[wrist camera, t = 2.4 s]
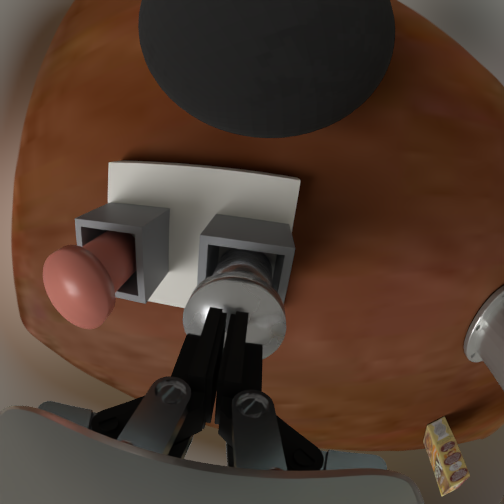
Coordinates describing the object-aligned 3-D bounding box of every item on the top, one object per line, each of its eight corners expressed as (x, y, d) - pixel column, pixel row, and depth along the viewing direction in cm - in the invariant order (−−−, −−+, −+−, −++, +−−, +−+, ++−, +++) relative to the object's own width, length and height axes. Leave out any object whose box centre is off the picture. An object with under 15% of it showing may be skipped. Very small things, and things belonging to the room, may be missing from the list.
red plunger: (149, 223, 17) (100, 259, 11) (150, 287, 19) (113, 337, 13) (91, 216, 17) (36, 245, 11) (97, 275, 19) (52, 317, 13)
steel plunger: (287, 242, 17) (295, 290, 11) (274, 307, 19) (275, 369, 13) (210, 231, 17) (183, 273, 11) (206, 297, 19) (183, 355, 13)
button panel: (297, 177, 20) (311, 191, 14) (273, 309, 25) (274, 361, 18) (120, 160, 21) (70, 169, 14) (123, 283, 25) (87, 322, 18)
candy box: (426, 424, 33) (448, 488, 19) (445, 414, 33) (471, 476, 18) (422, 441, 36) (440, 497, 22) (440, 432, 35) (459, 487, 21)
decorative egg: (356, 29, 15) (443, -67, 1) (328, 159, 20) (440, 190, 6) (210, 1, 15) (151, -112, 1) (175, 127, 19) (32, 113, 6)
